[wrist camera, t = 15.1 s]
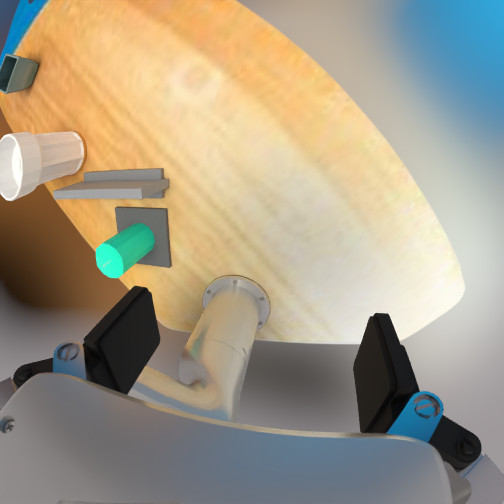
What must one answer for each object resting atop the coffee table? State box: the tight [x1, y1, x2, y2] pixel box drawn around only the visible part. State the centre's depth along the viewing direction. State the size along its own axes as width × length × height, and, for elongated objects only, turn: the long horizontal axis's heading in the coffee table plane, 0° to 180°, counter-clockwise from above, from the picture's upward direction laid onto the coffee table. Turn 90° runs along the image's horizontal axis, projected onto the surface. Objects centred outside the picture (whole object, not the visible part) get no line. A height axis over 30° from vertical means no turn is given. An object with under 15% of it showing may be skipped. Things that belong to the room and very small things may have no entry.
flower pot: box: [0, 54, 38, 94], centre depth 34 cm, size 9×9×9 cm
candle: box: [96, 223, 155, 278], centre depth 43 cm, size 6×6×12 cm
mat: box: [115, 207, 172, 268], centre depth 48 cm, size 11×11×1 cm
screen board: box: [53, 168, 169, 199], centre depth 41 cm, size 5×20×9 cm, turn 88°
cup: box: [0, 131, 86, 201], centre depth 37 cm, size 11×11×17 cm
